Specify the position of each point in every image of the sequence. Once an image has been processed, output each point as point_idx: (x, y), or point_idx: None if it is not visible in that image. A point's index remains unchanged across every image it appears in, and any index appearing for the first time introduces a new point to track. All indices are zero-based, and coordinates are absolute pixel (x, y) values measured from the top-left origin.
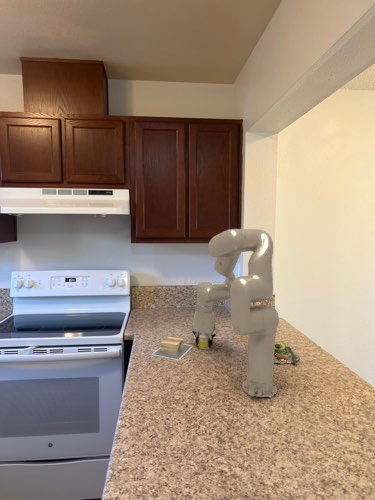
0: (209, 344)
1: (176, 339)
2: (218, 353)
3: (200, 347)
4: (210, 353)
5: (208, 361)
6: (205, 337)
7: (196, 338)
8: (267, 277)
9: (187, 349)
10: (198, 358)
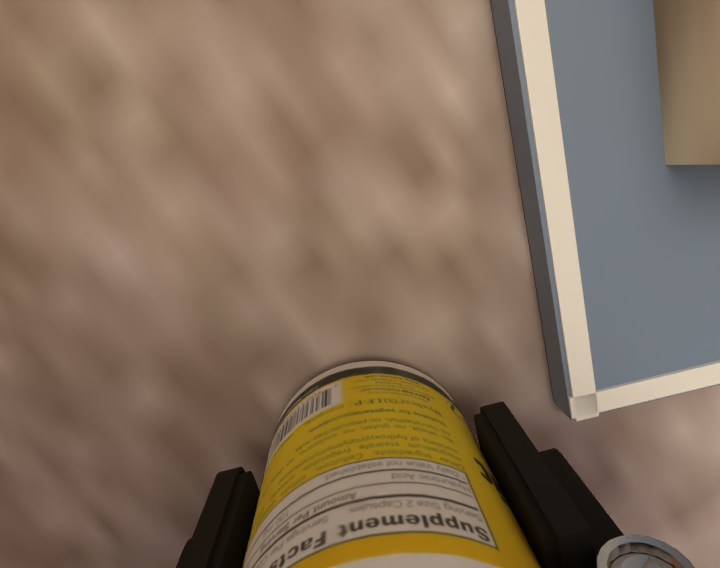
0: (208, 514)
1: None
2: (110, 466)
3: (389, 384)
4: (205, 391)
5: (8, 89)
6: None
7: (575, 506)
8: None
9: (590, 211)
10: (232, 80)
